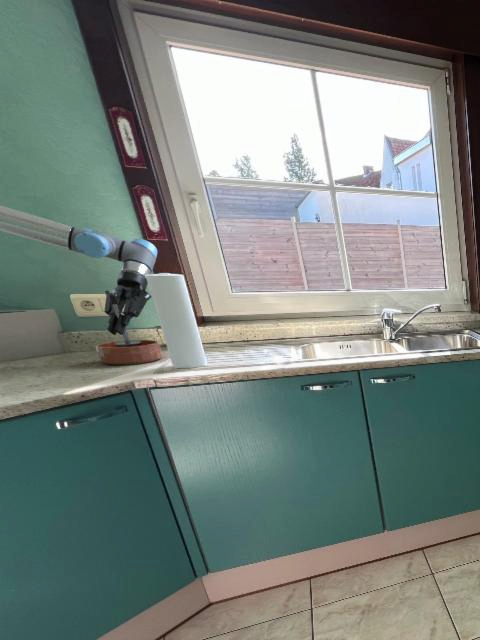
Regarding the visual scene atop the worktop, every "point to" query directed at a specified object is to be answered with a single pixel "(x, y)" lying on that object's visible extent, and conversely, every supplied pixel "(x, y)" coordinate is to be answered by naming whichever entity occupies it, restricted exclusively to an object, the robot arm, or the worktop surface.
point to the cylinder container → (177, 320)
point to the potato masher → (125, 334)
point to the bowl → (129, 353)
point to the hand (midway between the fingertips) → (115, 332)
